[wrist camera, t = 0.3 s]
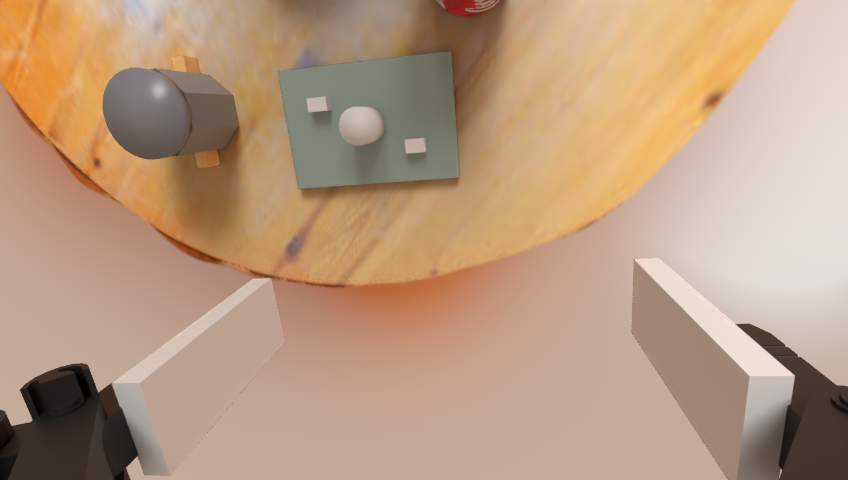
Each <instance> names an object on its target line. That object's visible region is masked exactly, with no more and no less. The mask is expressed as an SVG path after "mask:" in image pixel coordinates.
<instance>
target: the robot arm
mask: <svg viewBox="0 0 848 480" xmlns="http://www.w3.org/2000/svg"><path fill="white" fill-rule="evenodd" d="M632 334H633V335H634V337H635V339H636V340H637V342H638V343H639V345H640V346H641V348H642V349H643V351H644V352H645V354H646V356H647V357H648V358H649V360H650V362H651V363H652V365H653V366H654V368H655V369H656V371H657V372H658V374H659V375H660V377H661V378H662V380H663V381H664V383H665V385H666V386H667V388H668V389H669V391H670V392H671V394H672V395H673V397H674V398H675V400H676V401H677V403H678V404H679V406H680V407H681V409H682V411H683V412H684V414H685V415H686V417H687V418H688V420H689V421H690V423H691V424H692V426H693V427H694V429H695V430H696V431H697V433H698V435H699V437H700V438H701V440H702V441H703V443H704V444H705V446H706V447H707V449H708V450H709V452H710V453H711V455H712V456H713V458H714V459H715V461H716V462H717V464H718V466H719V467H720V469H721V470H722V472H723V473H724V475H725V476H726V478H727V479H728V480H848V386H838V385H835V384H834V383H833V382H832V381H830V380H829V379H828V378H827V377H825V376H824V375H823V374H821V373H820V372H819V371H818V370H816V369H815V368H814V367H813V366H811V365H810V364H809V363H807V362H806V361H805V360H803V359H802V358H801V357H798V356H797V354H796V353H795V352H794V351H792V350H791V349H790V348H788V347H785V344H783V343H782V342H781V341H780V340H778V339H777V338H776V337H775V336H773V335H772V334H771V333H769V332H766V331H764V330H762V329H760V328H758V327H755V326H753V325H751V324H734V323H733V322H732V321H731V320H730V319H729V318H727V317H726V316H725V315H724V314H723V313H722V312H720V311H719V310H718V309H717V308H716V307H715V306H713V305H712V304H711V303H710V302H709V301H708V300H707V299H705V298H704V297H703V296H702V295H701V294H700V293H698V292H697V291H696V290H695V289H694V288H693V287H691V286H690V285H689V284H688V283H687V282H686V281H684V280H683V279H682V278H681V277H680V276H679V275H678V274H676V273H675V272H674V271H673V270H672V269H671V268H669V267H668V266H667V265H666V264H665V263H664V262H662V261H661V260H660V259H659V258H649V259H634V275H633V303H632ZM284 342H285V339H284V335H283V330H282V326H281V321H280V317H279V312H278V308H277V303H276V298H275V294H274V289H273V285H272V280H271V278H262V279H252V280H251V281H249V282H248V283H247V284H245V285H244V286H242V287H241V288H240V289H238V290H237V291H236V292H234V293H233V294H232V295H231V296H229V297H228V298H226V299H225V300H224V301H222V302H221V303H220V304H218V305H217V306H215V307H214V308H213V309H211V310H210V311H209V312H207V313H206V314H205V315H203V316H202V317H200V318H199V319H198V320H196V321H195V322H194V323H193V324H191V325H190V326H188V327H187V328H186V329H184V330H183V331H182V332H180V333H179V334H178V335H176V336H175V337H174V338H172V339H171V340H170V341H168V342H167V343H165V344H164V345H163V346H161V347H160V348H158V349H157V350H156V351H154V352H153V353H152V354H150V355H149V356H148V357H146V358H145V359H143V360H142V361H141V362H140V363H138V364H137V365H135V366H134V367H133V368H132V369H130V370H129V371H127V372H126V373H124V374H123V375H122V376H120V377H119V378H118V379H116V380H115V381H114V382H112V383H111V384H110V385H108V386H107V387H106V388H104V389H103V390H101V391H100V392H99V393H98V391H97V389H96V386H95V383H94V381H93V378H92V375H91V372H90V369H89V367H88V365H86V364H82V363H81V364H71V365H67V366H62V367H59V368H56V369H54V370H51V371H48V372H46V373H44V374H42V375H40V376H37V377H35V378H34V379H32V380H31V381H29V382H28V383H26V384H25V385H24V386H23V387H22V388H21V389H20V391H21V393H22V396H23V398H24V401H25V403H26V405H27V408H28V410H29V412H30V415H31V417H32V419H33V420H32V422H30V423H25V424H20V425H15V426H11V424H10V422H9V419H8V417H7V415H6V413H5V411H2V410H0V480H130V478H129V475H128V472H127V469H126V467H127V466H128V465H129V464H130V463H131V462H132V461H133V460H134V459H135V458H136V457H137V456H138V459H139V461H140V464H141V467H142V470H143V473H144V475H160V476H171V475H172V474H173V472H174V471H175V470H176V469H177V468H178V467H179V466H180V464H181V463H182V462H183V461H184V459H185V458H186V457H187V456H188V455H189V454H190V453H191V451H192V450H193V449H194V448H195V447H196V445H197V444H198V443H199V442H200V441H201V440H202V439H203V437H204V436H205V435H206V434H207V433H208V431H209V430H210V429H211V428H212V427H213V426H214V424H215V423H216V422H217V421H218V420H219V418H220V417H221V416H222V415H223V414H224V413H225V411H226V410H227V409H228V408H229V407H230V406H231V405H232V403H233V402H234V401H235V400H236V399H237V398H238V396H239V395H240V394H241V393H242V392H243V390H244V389H245V388H246V387H247V386H248V385H249V383H250V382H251V381H252V380H253V379H254V378H255V376H256V375H257V374H258V373H259V372H260V370H261V369H262V368H263V367H264V366H265V365H266V364H267V362H268V361H269V360H270V359H271V358H272V356H273V355H274V354H275V353H276V352H277V351H278V349H279V348H280V347H281V346H282V345H283V343H284ZM780 468H781V469H782V473H781V476H780V478H779V473H780Z"/></svg>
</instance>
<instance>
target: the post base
mask: <svg viewBox="0 0 848 480" xmlns="http://www.w3.org/2000/svg"><path fill="white" fill-rule="evenodd" d="M278 75H279V81H280V86H281V92H282V98H283V104H284V109H285V115H286V121H287V126H288V132H289V138H290V144H291V149H292V155H293V161H294V166H295V172H296V178H297V184H298V189H305V188H319V187H333V186H348V185H362V184H376V183H390V182H404V181H418V180H432V179H446V178H459V177H460V171H459V157H458V142H457V127H456V112H455V97H454V83H453V68H452V53H451V51H446V52H437V53H428V54H420V55H411V56H403V57H394V58H386V59H377V60H369V61H360V62H351V63H343V64H334V65H326V66H317V67H309V68H300V69H292V70H283V71H278Z"/></svg>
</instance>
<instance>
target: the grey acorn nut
mask: <svg viewBox="0 0 848 480" xmlns="http://www.w3.org/2000/svg"><path fill="white" fill-rule="evenodd" d="M171 58H172V62H173V67H174V71H172V70H164V69H141V68H129V69H125V70H122V71H120V72H119V73H117V74H116V75H115V76H113V77H112V79H111V80H110V81H109V83H108V84H107V86H106V89H105V92H104V96H103V113H104V117H105V121H106V124H107V126H108V128H109V130H110V132H111V134H112V136H113V137H114V138H115V140H116V141H117V142H118V143H119V144H120V145H121V146H122V147H123V148H124V149H125V150H127V151H128V152H130V153H131V154H133V155H135V156H138V157H140V158H144V159H160V158H166V157H170V156H178V155H185V154H191V153H194V155H195V159H196V163H197V167H198V168H207V167H213V166H217V165H221V164H220V160H219V155H218V151H217V149H224V148H225V147H226V146H227V144H228V142H229V141H230V139H231V138H232V136H233V135H234V133H235V131H236V130H237V128H238V127H239V123H238V118H237V113H236V108H235V104H234V99H233V95H232V94H231V93H230V92H229V91H227V90H226V89H225V88H224V87H223V86H221V85H220V84H219V83H218V82H217V81H215V80H214V79H213V78H212V77H211V76H209V75H205V74H200V70H199V66H198V61H197V58H193V57H187V56H178V57H171Z"/></svg>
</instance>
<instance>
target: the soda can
mask: <svg viewBox="0 0 848 480" xmlns="http://www.w3.org/2000/svg"><path fill="white" fill-rule="evenodd" d="M436 1H437V2H438V3H439V5H440V6H441V7H442V8H444V9H445V10H447V11H448V12H450V13H451V14H454V15H456V16H460V17H475V16H479V15H482V14H484V13H486V12H488V11H490V10H491V9H493V8H494V7H495V6H496V5H498V4H499V2H500V1H501V0H436Z"/></svg>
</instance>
